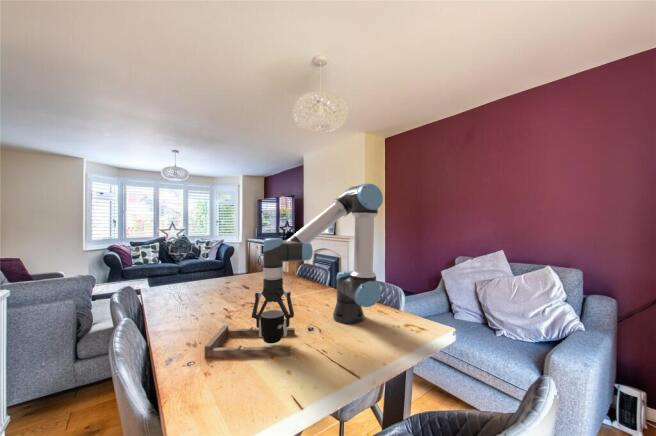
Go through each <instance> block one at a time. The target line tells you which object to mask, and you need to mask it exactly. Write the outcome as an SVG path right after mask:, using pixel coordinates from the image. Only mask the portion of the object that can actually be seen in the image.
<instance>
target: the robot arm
mask: <svg viewBox="0 0 656 436" xmlns="http://www.w3.org/2000/svg"><path fill="white" fill-rule="evenodd" d="M383 201H384V196H383V192H382V190H381V189H380V188H379V186H378V185H376V184H374V183H363V184H360V185H357V186H356V185H355V186H351V187H349V188H348V189H346V190H345V191H344V192H343V193H341V194H340V195H339V196H337V197H336V198H335V199H334V200H333V201H332V204H331V205H330V206H329V207H327V208H326V209H324V211H322V212H321V213H319V214H318V215H317V216H316V217H315V218H313V219H312V220H311V221H309V222H308V223H307V224H306V225H304V226H303V227H301V228H300V229H299V230H298V231H296V233H294V234H293V235H292V236H290V237H289V238H288V239H285V240H283V238H281V237H268V238H265V239H264V240H263V246H262V247H263V249H262V251H263V252H262V257H263V260H262V263H263V270H262V272H263V273H262V274H263V282H262V285H263V287H262V288H263V289H262V291H256V292H255V293H254V298H255V300H254V303H253V309H252V313H251V318H252V319H255V320H256V321H255V322H256V326H255V327H256V328H259V336H258V338H262V337H263V336H262V330H261V314H262V313H263V312H265V308H266V306H267V304H268V303H277V305H279V308H280V309H281V310H280V311H282V312H283V313H284V336H283V337H284V338H286V337H287V336H286V335H287V328H290V319H291V318H294V316H295V311H294V306H293V304H292V303H293V302H292V299H291V296H292V295H291V294H292V291H290V290H288V291H284V278H283V276H284V274H283V273H284V271H283V270H284V269H283V268H284V265H283V264H284V263H286V262H304V261H311V260H312V258H313V255H314V254H313V253H314V251H313V249H314V248H313V245H312V244H311V242H312V241H314V240H316V239H317V238H318V237H319V236H320V235H322V233H324V232H325V231H326V230H327V229H329V228H330V227H331V226H332V225H333V224H335V223H336V222H337V221H339V220H340V219H341V218H343V217H347V216H348V215H349V214H351V215H352V216H353V217H354V239H353V240H354V243H353V249H354V250H353V270H349V271H348V270H346V271H344V270H343V271H340V272H337V274H336V304H335V307H334V310H333V312H332V316H333V317H332V318H333V320H334V321H336V322H338V323H341V324H357V323H361V322H363V321H364V320H365V315H364V313H365V312H364V310H363V308H370V307H373V306H374V305H375V304H376V303H377V302H378V301H379V300H380V298H381V293H382V291H381V290H382V289H381V286H380V285H379V284H378V283H377V274H376V273H375V272H374V271H373V270H374V242H375V241H374V234H375V218H376V217H377V216H378V212H379V211H378V210H379V208H380V207H381V206H382V204H383ZM283 295H284V297H285V298H286V302H287V303H286V304H287V307H288V309H287V308H286V306H285V303H284V301H283V298H282V297H283ZM262 296H263V297H264V301H263V303H262V306H261V308H260V309H259V311H258V307H259V304H260V298H262ZM257 312H258V313H257Z"/></svg>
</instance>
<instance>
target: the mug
mask: <svg viewBox="0 0 656 436" xmlns="http://www.w3.org/2000/svg"><path fill="white" fill-rule="evenodd" d="M260 318H261V330H262V336H261V337H262V339H263V342H265V344H277V343H279V342H280V341H281V340H282V338H283V336H282V335H283V328H284V319H285V316H284V313H283V312H282V310H280V309H270V310H269V309H268V310H266V311H265V310H264V311H263V313H262V314H261V317H260Z"/></svg>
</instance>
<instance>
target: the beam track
mask: <svg viewBox="0 0 656 436" xmlns="http://www.w3.org/2000/svg"><path fill="white" fill-rule="evenodd" d="M295 333H296V327H287V335H286V337H290V336H291V337H295V336H296V334H295ZM230 337H231V338H233V337H235V338H238V337H244V338H245V337H246V338H247V337H259V328H257V327H256V326H255V327H254V326H251V327H247V328H229V325H225V324H224V325H222V327H221V328H220V329H219V330H218V331H217V332H216V333H215V334H214V335H213V337H212V338H210V340H209V341H208V342H207V343H206V344H205V345H204V359H207V358H208V359H212V358H214V359H216V358H217V359H218V358H256V357H257V358H258V357H261V358H263V357H264V358H265V357H267V358H268V357H291V353H292V352H291V350H292V348H291V346H249V347H248V346H247V347H246V346H245V345H243V346H242V344H241V345H240V344H239V345H237V346H235V347H221V345H222V344H223V342H224V341H225V340H226V339H227V338H230ZM282 337H284V328H283V335H282Z"/></svg>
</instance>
